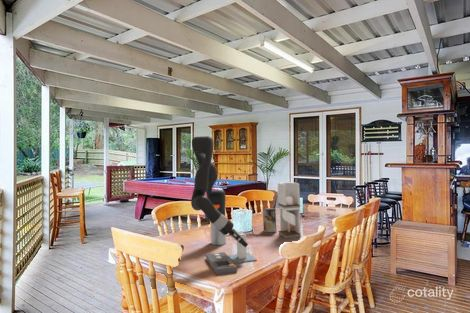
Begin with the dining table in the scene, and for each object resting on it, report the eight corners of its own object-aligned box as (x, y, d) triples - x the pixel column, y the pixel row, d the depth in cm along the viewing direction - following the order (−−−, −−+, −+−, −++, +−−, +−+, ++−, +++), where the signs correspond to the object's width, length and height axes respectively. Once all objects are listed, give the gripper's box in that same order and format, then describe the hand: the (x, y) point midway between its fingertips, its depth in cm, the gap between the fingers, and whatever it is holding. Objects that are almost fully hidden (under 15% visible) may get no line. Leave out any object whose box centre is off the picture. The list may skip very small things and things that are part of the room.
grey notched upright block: (279, 233, 222) (277, 182, 222) (293, 232, 224) (292, 182, 224) (285, 237, 211) (284, 184, 211) (300, 236, 213) (299, 183, 213)
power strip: (205, 256, 175) (204, 251, 175) (222, 254, 177) (222, 249, 177) (216, 274, 148) (216, 268, 148) (237, 272, 151) (237, 265, 151)
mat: (228, 256, 175) (228, 255, 175) (249, 254, 178) (249, 252, 178) (234, 263, 163) (234, 262, 163) (256, 260, 166) (256, 259, 166)
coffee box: (276, 230, 232) (276, 207, 232) (276, 232, 226) (275, 209, 226) (263, 230, 234) (263, 207, 234) (263, 232, 227) (262, 209, 227)
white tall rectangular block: (237, 256, 172) (236, 233, 172) (244, 255, 173) (243, 233, 173) (239, 259, 168) (238, 235, 168) (246, 258, 169) (246, 234, 169)
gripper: (231, 221, 161) (253, 241, 165) (224, 216, 175) (244, 235, 178) (221, 232, 160) (243, 253, 163) (214, 226, 174) (235, 245, 177)
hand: (244, 243), depth 171 cm, fingers open, 8 cm apart
